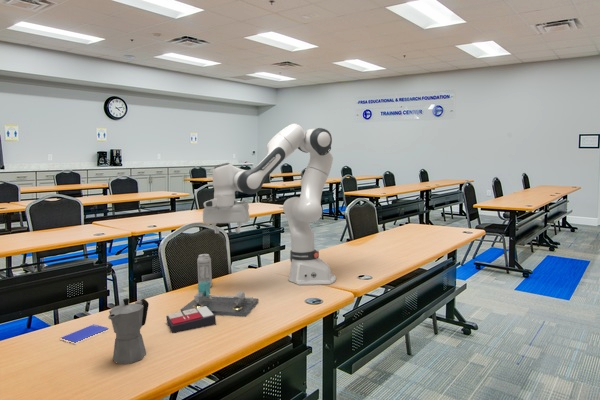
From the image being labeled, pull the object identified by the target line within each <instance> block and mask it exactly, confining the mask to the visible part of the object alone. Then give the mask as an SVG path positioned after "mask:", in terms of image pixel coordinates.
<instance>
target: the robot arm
mask: <svg viewBox="0 0 600 400" xmlns="http://www.w3.org/2000/svg"><path fill="white" fill-rule="evenodd" d="M332 143H333V138H332V134H331V132H330V131H329V130H328V129H326V128H322V127H318V128H316V127H315V128H309V129H306V130H304V128H303V127H302V126H301V125H299V124H298V123H291V124H289V125H287V126H286V127H284V128H283V129H281V130H280V131H278V132H277V133H276V134H275V135H274V136H273V137H272V138H270V140H269V142H268V143H267V144H266V145H267V146H266V151H267V155H266V156H265V157H264V158H263V159H262V160H261V161H260V162H259V163H258V164H257V165H256V166H255V167H253V168H250V169H242V168H239V167H236V166H234V165H233V164H231V163H229V162H224V163H220V164H217V165H215V166H214V167H213V169H212V186H213V190H214V192H213V198H211V199H210V200H209V199H208V200H207V201H206V200H205V201H204V202H203V207H204V208H203V209H202V220H203V221H202V222H203V223H204V224H205V225H207V224H211V228H213V230H214V234H216V235H217V234H220V228H218V227H217V224H237V228H235V229H234V230H235V233H236V234H240V233H241V230H240V229H241V227H242V225H243V224H244V223H245V224H246V223H248V222H249V221H250V211H249V209H250V207H249V203H248V202H247V201H246V200H236V194H235V192H236V191H237V192H240V193H244V194H246V195H255V194H257V193H258V192H259V191H260V190H261V189H262V187H263V185H264V182H265V181H266V180H267V178H268V177H269V176H270V175H271V174H272V173H273V172H274V171H275V170H276V169H277V168H278V166H279V165H280V164H281V163H282V162H284V161H285V160H286V159H287V158H288V157H289V156H290V155H292V154H293V153H294V152H295V151H296V150H297V149H298V150H299V151H301V152H302V153H304V154H305V153H306V154H307V153H309V162H308V163H307V166H306V167H305V170H304V173H303V176H302V178H301V180H300V186H301V190H300V196H293V197H290V198H287V199H286V200H285V201H284V203H283V206H282V211H283V213H284V215H285V217H286V220H287V223H288V229H289V234H290V250H289V251H290V252H289V261H290V269H289V270H290V271H289V275H288V281H290V282H291V283H295V284H296V285H298V286H299V285H300V286H304V285H305V286H309V285H315V286H316V285H331V284H334V283H335V282H336V279H337V277H336V275H335V274H334V273H332V270H331V267H330V264H328V263H327V262H326V261H324V260H323V259H321V258H320V252H319V250H316V249H315V232H314V231H313V229H312V227H311V224H310V223H315V222H317V221H319V220H320V219H321V217H322V215H323V207H322V205H321V204H322V203H321V202H322V194H323V190H324V188H325V185H326V182H327V180H328V178H329V175H330V172H331V169H332V165H333V160H334V157H333V154H332V153H331V152H330V151H331V150H332Z"/></svg>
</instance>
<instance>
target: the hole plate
mask: <svg viewBox="0 0 600 400" xmlns="http://www.w3.org/2000/svg"><path fill="white" fill-rule="evenodd" d="M245 293H246V291H243V290H242V291H241V290H239V291H238V292H237V293H236V294H235V295H219V294H218V295H215V294H209V295H208V296H207V297H203V298H202V299H201V300H199V305H197V301H195V295H194V296H193V298H194V299H193V300H191V301H190V302H189V303H187V304H185V305H184V306H183V307H182V308H180V312H182V311H185V310H189V309H193V308H195V309H196V308H200V307H204V306H206V307H208V308H209V309H210V310H211V311H212V313H213V314H214V315H215V316H223V317H224V316H227V317H242V318H243V317H244V318H245V317H247V316H248V315H249V314H250V313H251V312H252V310H253V309H255V307H256V306H257V305H258V303H259V301H260V300H259V298H254V296H246V294H245Z"/></svg>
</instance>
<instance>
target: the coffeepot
mask: <svg viewBox="0 0 600 400" xmlns="http://www.w3.org/2000/svg"><path fill="white" fill-rule="evenodd" d="M122 302H123V304H119V305H116V306H113V307H112V308H111V309H110V310H109V312H108V313H109V315H108V317H107V318H108V320H111V324H112V328H113V333H115V338H114V346H113V355H112V360H113V361H114V363H116V362H117V363H116V364H119V365H129V364H128V363H130V364H133V363H137V362H140V361H141V360H143V359H145V357H144V356H146V355H147V350H146V346H145V343H144V339H143V334H142V333H141V329H142V327H143V326H145V325H146V321H147V316H148V311H149V302H148V301H147V300H146V298H142V299H140V300H137V301H135V302H134V303H129V302H130V298H123V299H122Z"/></svg>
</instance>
